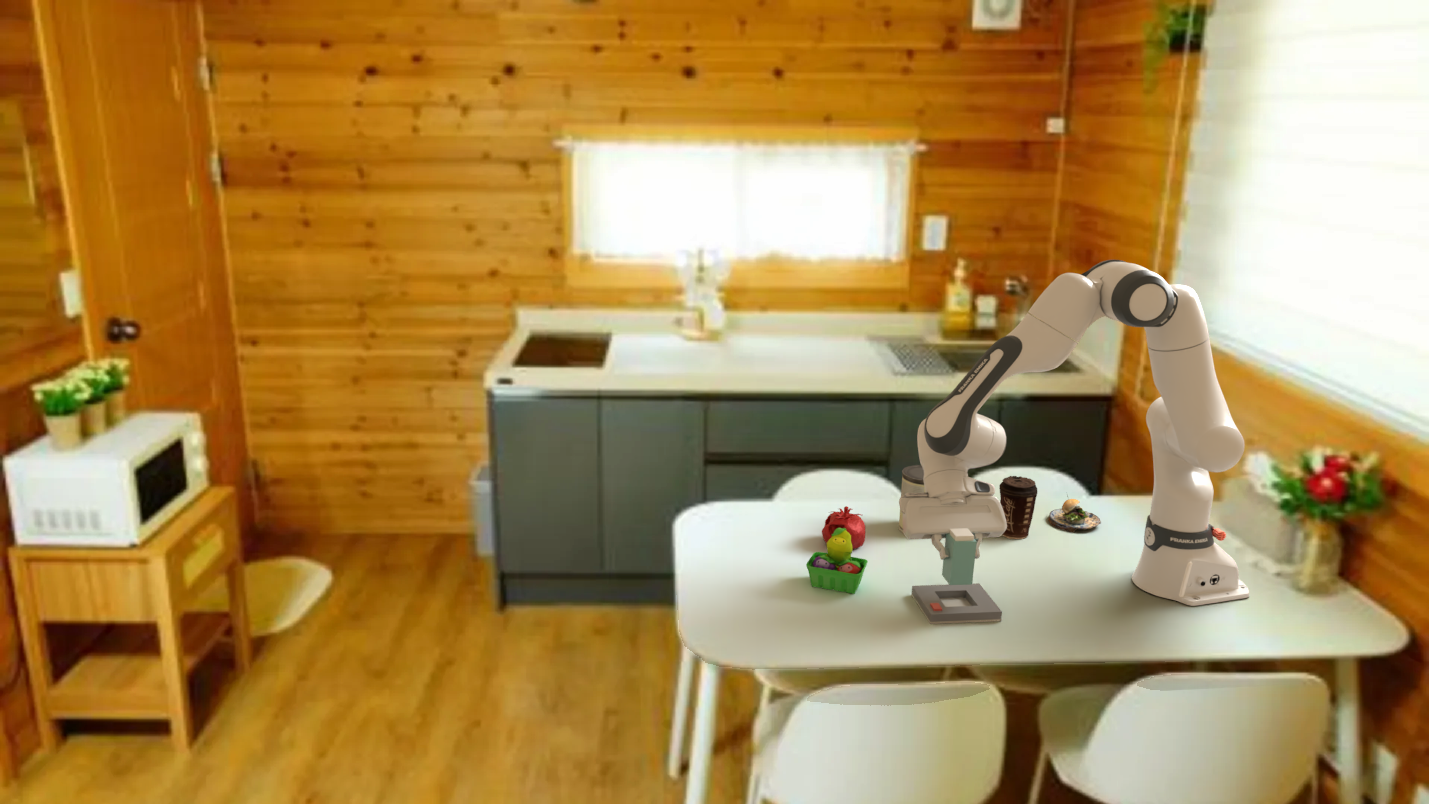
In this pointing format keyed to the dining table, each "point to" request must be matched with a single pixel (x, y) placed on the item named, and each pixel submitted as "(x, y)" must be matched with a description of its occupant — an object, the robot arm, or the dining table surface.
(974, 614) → the socket plate
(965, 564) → the plug
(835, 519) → the pomegranate
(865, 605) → the dining table surface
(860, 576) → the fruit basket
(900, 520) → the coffee can
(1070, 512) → the burger
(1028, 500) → the coffee cup
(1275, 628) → the dining table surface
